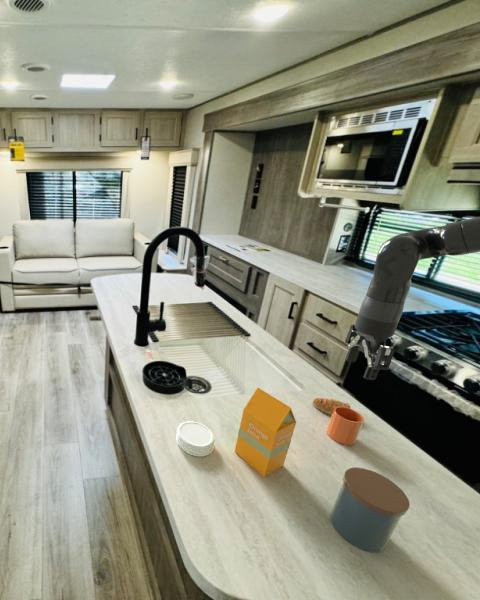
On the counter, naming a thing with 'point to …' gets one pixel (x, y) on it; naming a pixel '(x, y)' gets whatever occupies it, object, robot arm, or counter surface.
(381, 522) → the jar
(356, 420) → the cup
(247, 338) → the counter surface
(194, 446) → the white round tub
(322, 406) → the pastry
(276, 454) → the orange juice
